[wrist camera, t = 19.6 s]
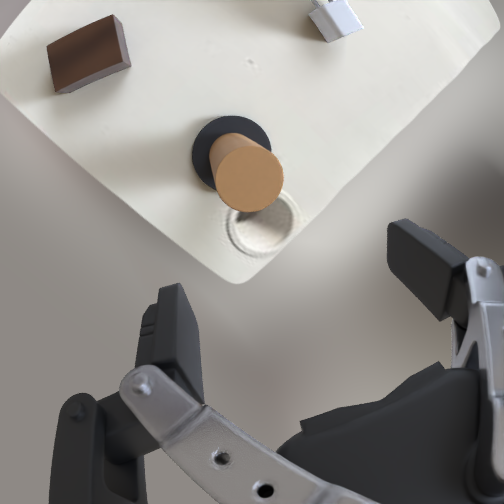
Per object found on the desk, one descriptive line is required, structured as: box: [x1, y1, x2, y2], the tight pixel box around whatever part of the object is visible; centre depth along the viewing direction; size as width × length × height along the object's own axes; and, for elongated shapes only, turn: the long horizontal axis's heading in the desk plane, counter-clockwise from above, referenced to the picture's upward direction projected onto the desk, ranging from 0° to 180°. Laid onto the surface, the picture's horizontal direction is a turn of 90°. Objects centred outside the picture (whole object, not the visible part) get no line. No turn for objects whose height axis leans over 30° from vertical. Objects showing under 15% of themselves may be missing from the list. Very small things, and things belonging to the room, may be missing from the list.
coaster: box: [192, 116, 271, 190], centre depth 33 cm, size 9×9×1 cm
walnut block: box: [47, 14, 131, 93], centre depth 23 cm, size 6×8×4 cm
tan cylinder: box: [209, 133, 284, 212], centre depth 27 cm, size 12×5×12 cm
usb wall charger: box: [309, 0, 364, 43], centre depth 24 cm, size 4×7×4 cm, turn 34°
